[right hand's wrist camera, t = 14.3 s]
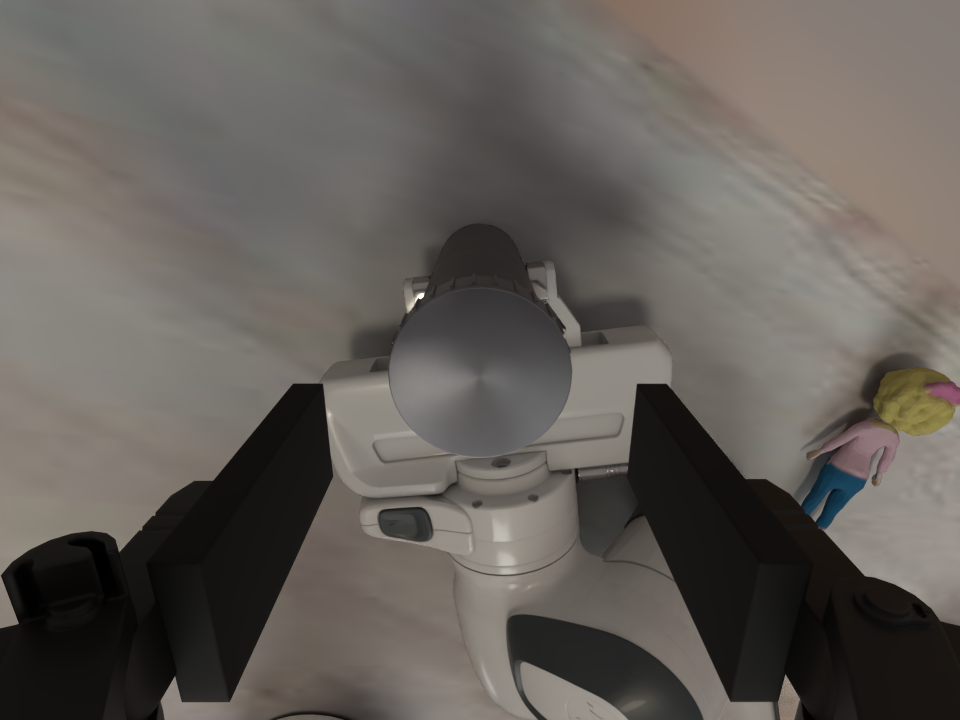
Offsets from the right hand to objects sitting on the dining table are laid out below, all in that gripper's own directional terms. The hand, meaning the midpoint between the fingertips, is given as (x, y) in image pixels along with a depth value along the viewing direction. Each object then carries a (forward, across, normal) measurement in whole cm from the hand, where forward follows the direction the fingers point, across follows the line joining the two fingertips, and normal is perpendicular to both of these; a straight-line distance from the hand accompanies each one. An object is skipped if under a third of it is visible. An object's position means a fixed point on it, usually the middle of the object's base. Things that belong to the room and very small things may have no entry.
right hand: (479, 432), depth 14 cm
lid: (+4, 0, 0) cm, 4 cm away
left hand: (+17, 0, +1) cm, 17 cm away
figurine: (+23, +27, -13) cm, 38 cm away
